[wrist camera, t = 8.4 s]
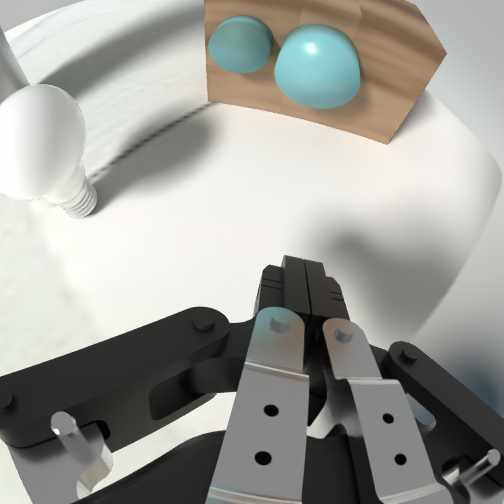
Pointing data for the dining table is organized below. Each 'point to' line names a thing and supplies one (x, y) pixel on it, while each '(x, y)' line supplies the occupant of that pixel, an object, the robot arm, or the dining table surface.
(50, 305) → the dining table surface
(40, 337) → the dining table surface
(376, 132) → the mount
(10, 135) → the lightbulb
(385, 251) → the dining table surface
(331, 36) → the knob
